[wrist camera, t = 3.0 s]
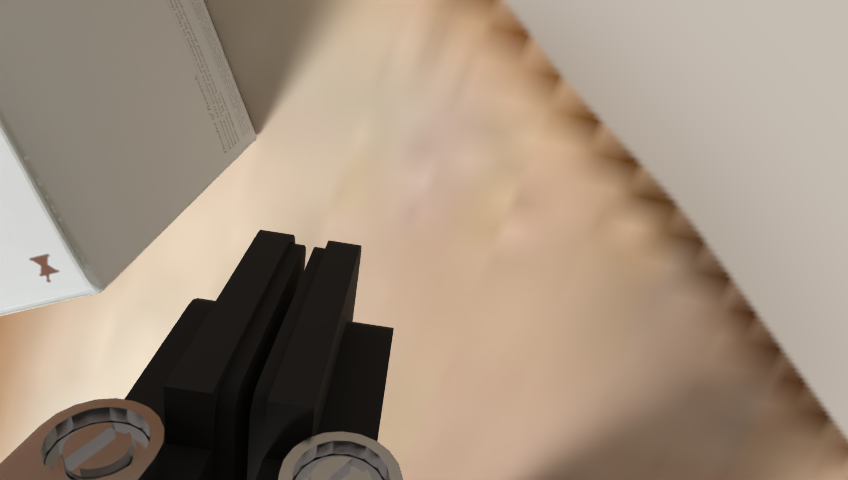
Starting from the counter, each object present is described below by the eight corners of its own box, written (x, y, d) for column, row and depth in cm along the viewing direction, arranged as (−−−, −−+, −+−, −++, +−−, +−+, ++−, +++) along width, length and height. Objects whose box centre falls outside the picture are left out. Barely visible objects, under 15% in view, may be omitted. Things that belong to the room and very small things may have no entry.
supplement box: (187, -56, 23) (-81, -45, 11) (261, 141, 26) (108, 305, 14) (6, -1, 24) (-403, 60, 13) (97, 182, 27) (-165, 365, 16)
